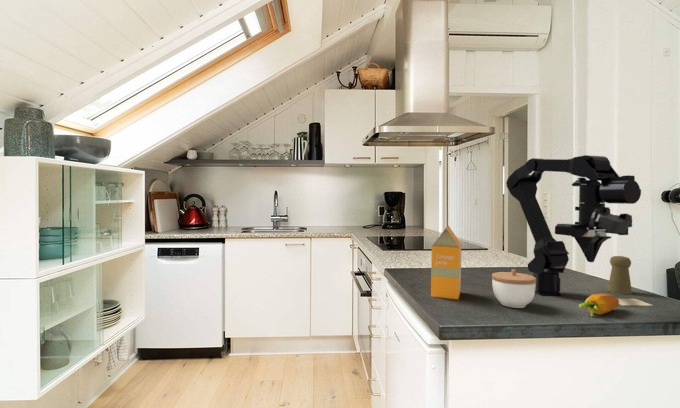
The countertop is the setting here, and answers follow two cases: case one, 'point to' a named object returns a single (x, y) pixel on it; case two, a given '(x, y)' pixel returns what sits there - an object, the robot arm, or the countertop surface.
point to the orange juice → (446, 266)
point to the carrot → (600, 303)
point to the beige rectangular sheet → (632, 302)
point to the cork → (620, 275)
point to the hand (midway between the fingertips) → (590, 262)
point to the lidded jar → (513, 288)
